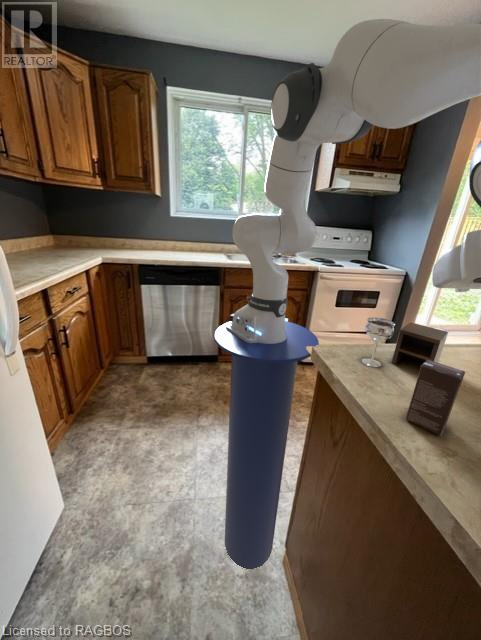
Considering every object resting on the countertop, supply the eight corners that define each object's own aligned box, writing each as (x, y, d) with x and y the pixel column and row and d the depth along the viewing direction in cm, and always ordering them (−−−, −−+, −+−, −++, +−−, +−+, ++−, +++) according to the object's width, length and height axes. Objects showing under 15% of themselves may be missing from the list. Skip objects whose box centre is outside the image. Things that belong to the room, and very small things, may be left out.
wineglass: (353, 357, 77) (361, 317, 73) (374, 356, 78) (384, 317, 74) (367, 369, 71) (377, 326, 67) (390, 368, 72) (402, 326, 68)
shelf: (391, 362, 75) (400, 329, 71) (401, 353, 81) (410, 322, 77) (428, 376, 69) (440, 340, 65) (437, 365, 75) (448, 331, 71)
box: (445, 425, 52) (466, 370, 48) (439, 437, 49) (461, 379, 45) (411, 409, 56) (427, 357, 52) (403, 419, 53) (420, 365, 49)
